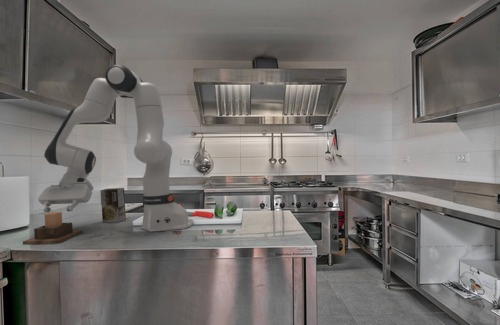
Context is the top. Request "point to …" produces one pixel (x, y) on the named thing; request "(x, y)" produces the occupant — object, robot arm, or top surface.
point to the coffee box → (113, 205)
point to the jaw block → (53, 219)
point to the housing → (53, 234)
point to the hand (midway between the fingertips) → (57, 211)
